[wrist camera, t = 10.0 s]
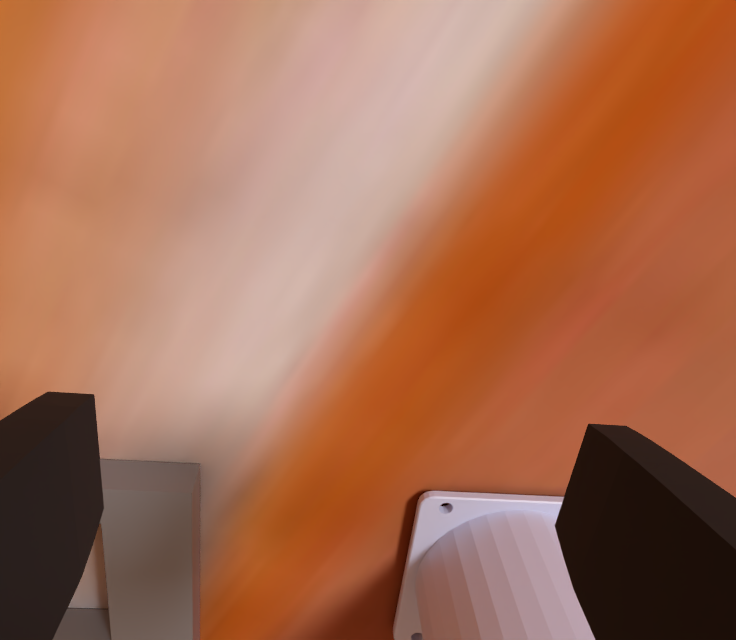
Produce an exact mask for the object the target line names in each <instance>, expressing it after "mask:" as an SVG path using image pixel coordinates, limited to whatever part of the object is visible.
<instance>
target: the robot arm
mask: <svg viewBox="0 0 736 640" xmlns="http://www.w3.org/2000/svg"><path fill="white" fill-rule="evenodd" d="M443 503H450V504H448V505H447V506H440V505H442V504H443ZM103 510H104V502H103V490H102V479H101V467H100V456H99V444H98V433H97V421H96V410H95V398H94V394H78V393H61V392H47V393H45V394H43V395H41V396H40V397H38V398H36V399H34V400H33V401H31V402H29V403H28V404H26V405H24V406H23V407H21V408H20V409H18V410H16V411H15V412H13V413H12V414H10V415H8V416H7V417H5V418H4V419H2V420H0V640H53V638H54V636H55V633H56V631H57V629H58V627H59V625H60V623H61V621H62V618H63V616H64V614H65V612H66V610H67V608H68V606H69V603H70V601H71V599H72V597H73V595H74V593H75V590H76V588H77V586H78V584H79V582H80V579H81V577H82V574H83V572H84V569H85V566H86V563H87V560H88V557H89V554H90V551H91V548H92V545H93V542H94V539H95V536H96V532H97V529H98V526H99V523H100V520H101V517H102V513H103ZM393 637H394V640H736V498H735V497H734V496H732V495H731V494H730V493H728V492H727V491H725V490H724V489H722V488H721V487H719V486H718V485H716V484H715V483H713V482H712V481H711V480H709V479H708V478H706V477H705V476H703V475H702V474H700V473H699V472H697V471H696V470H695V469H693V468H692V467H690V466H689V465H687V464H686V463H684V462H683V461H681V460H680V459H678V458H677V457H675V456H674V455H672V454H671V453H669V452H668V451H666V450H665V449H663V448H662V447H660V446H659V445H657V444H656V443H654V442H653V441H651V440H650V439H648V438H646V437H645V436H643V435H641V434H640V433H638V432H636V431H634V430H633V429H631V428H629V427H627V426H618V425H601V424H588V426H587V429H586V432H585V435H584V438H583V441H582V445H581V448H580V451H579V454H578V457H577V460H576V463H575V466H574V469H573V472H572V475H571V478H570V481H569V484H568V487H567V490H566V493H565V496H564V497H558V496H536V495H515V494H493V493H471V492H450V491H428V492H425V493H423V494H422V495H421V496H420V497H419V500H418V503H417V508H416V513H415V519H414V524H413V529H412V534H411V539H410V544H409V549H408V554H407V559H406V564H405V569H404V574H403V579H402V585H401V590H400V595H399V600H398V605H397V610H396V615H395V620H394V625H393Z"/></svg>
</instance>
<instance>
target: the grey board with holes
mask: <svg viewBox="0 0 736 640" xmlns="http://www.w3.org/2000/svg"><path fill="white" fill-rule="evenodd" d="M100 467H101V479H102V490H103V502H104V510H103V513H102V517H101V520H100V523H99V524H101V527H102V539H103V550H104V561H105V572H106V584H107V595H108V606H109V609H71V608H67V610H66V612H65V614H64V616H63V618H62V621H61V623H60V625H59V627H58V629H57V631H56V633H55V636H54V638H53V640H200V464H189V463H169V462H149V461H128V460H108V459H100Z"/></svg>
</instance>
